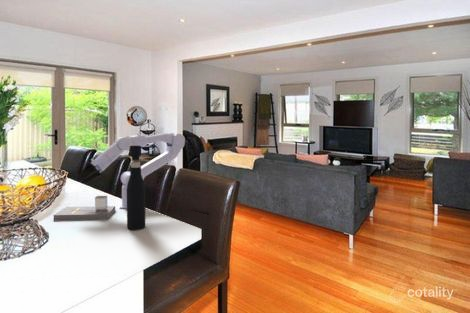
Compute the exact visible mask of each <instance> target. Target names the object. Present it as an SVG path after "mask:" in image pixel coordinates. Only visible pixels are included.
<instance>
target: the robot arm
mask: <svg viewBox="0 0 470 313" xmlns="http://www.w3.org/2000/svg"><path fill="white" fill-rule="evenodd" d="M160 142H163V143H166V144H165V145H166V150H165V152H163V153H161V154H159V155H158V156H156V157H155V158H153V159H151V160H150V161H147V162H146V163H144V164H143V165H140V167H141V175H142V178H143V181H144V180H145V178H146V177H147V176H148V175H150V174H152V173H153V172H154V171H157V170H158V169H160V168H162V167H164V166H165V165H167V164H168V163H170V162H171V161H173V160H174V159H176V158H177V157H178V155H179V154H180V152H181V151H182V149H183V148H184V147H185V143H186V138H185V136H184V135H183V134H181V133H173V132H172V133H159V134H154V135H148V136H147V135H146V136H145V135H144V134H142V133H136V134H135V135H126V136H124V137H122V136H120V137H117V138H116V139H115V140H114V141H113V143H112V144H111V145H110V146H109V147H107V148H106V149H105V150H103V152H102V153H100V154H99V156H97V157H96V158H95V159H93V158H91V159H90V161H91V162H90V161H89V160H88V161H86V164H85V166H84V168H83V169H82V171H81V172H80V173H79V175H78V178H79V179H80V180H81V181H82V182H83V183H85V184H88V183H89V182H91V181H93V180H95V179H97V178H100V177H102V176H103V174H102V172H104V171H105V170H106V169H107V168H108V167H109V166H110V165H111V164H112V163H113V162H115V161H116V160H117V158H119V157H120V156H121V155H122V154H123V153H125V152H124V151H130V146H141V148H143V147H145V146H147V145H148V144H151V143H160ZM129 177H130V170H129V171H124V172H122V174H121V175H120V182H121V183H122V185H121V205H120V206H119V209H127V184H128V180H129Z"/></svg>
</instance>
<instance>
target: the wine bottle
mask: <svg viewBox="0 0 470 313" xmlns="http://www.w3.org/2000/svg"><path fill="white" fill-rule="evenodd" d="M129 156H131V162H130V166H131V167H130V168H129V169H130V170H129V171H130V177H129V180H128V184H127V208H126V225H127V226H126V229H127V230H129V231H139V230H144V229H145V228H146V186H145V181H144V180H143V178H142V175H141V162H140V156H142V147H141V146H130V149H129Z"/></svg>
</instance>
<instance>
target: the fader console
mask: <svg viewBox="0 0 470 313" xmlns="http://www.w3.org/2000/svg"><path fill="white" fill-rule="evenodd" d="M107 206H108V208H107V209H106V210H95V205H94V206H66V207H64V208H62V209H61V210H59V211H58V212H56V213H55V214H53V221H70V220H71V221H72V220H73V221H76V220H77V221H79V220H82V221H84V220H108V219H109V218H110V217H111V216H112V215H113V214H114V213H115V212H116V206H115V205H114V206H113V205H110V206H109V205H107Z"/></svg>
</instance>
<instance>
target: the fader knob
mask: <svg viewBox="0 0 470 313" xmlns="http://www.w3.org/2000/svg"><path fill="white" fill-rule="evenodd" d="M94 206H95V210H106V209H107V208H108V206H109V205H108V195H96V196H95V197H94Z"/></svg>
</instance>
